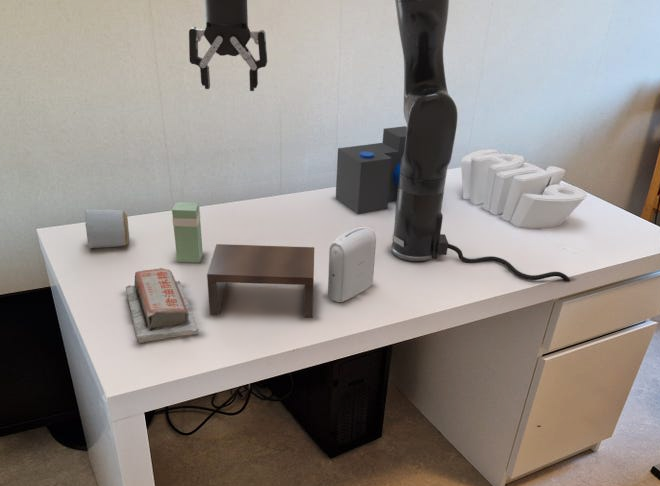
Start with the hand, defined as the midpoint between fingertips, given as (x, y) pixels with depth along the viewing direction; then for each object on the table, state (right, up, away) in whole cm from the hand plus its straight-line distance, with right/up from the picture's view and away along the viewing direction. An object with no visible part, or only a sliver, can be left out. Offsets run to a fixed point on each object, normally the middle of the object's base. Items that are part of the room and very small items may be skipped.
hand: (230, 89), depth 127 cm
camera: (+35, -13, +37) cm, 53 cm away
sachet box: (-9, -31, +7) cm, 33 cm away
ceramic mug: (-27, -28, +11) cm, 40 cm away
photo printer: (+23, -39, -2) cm, 45 cm away
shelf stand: (+7, -41, -6) cm, 42 cm away
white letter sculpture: (+64, -14, +38) cm, 76 cm away
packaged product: (-10, -44, -11) cm, 47 cm away
